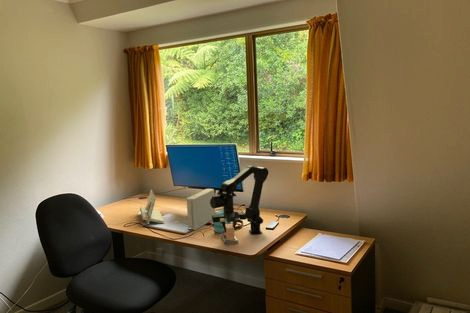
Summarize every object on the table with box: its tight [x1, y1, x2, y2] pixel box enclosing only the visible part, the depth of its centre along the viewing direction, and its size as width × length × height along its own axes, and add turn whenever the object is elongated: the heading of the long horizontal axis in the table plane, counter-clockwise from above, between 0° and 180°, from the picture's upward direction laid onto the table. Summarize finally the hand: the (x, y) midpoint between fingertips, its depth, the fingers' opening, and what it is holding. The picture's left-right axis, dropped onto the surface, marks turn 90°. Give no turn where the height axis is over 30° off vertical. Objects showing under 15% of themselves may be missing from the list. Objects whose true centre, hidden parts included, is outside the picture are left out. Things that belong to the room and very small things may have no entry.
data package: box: [213, 208, 232, 234], centre depth 225 cm, size 12×4×12 cm, turn 148°
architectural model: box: [139, 188, 165, 224], centre depth 252 cm, size 20×29×21 cm
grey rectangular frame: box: [220, 234, 239, 246], centre depth 208 cm, size 12×8×2 cm, turn 11°
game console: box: [186, 188, 216, 231], centre depth 239 cm, size 6×27×20 cm, turn 156°
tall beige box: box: [224, 223, 235, 240], centre depth 207 cm, size 8×4×6 cm, turn 11°
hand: (229, 231), depth 207 cm, fingers closed on tall beige box, 4 cm apart
